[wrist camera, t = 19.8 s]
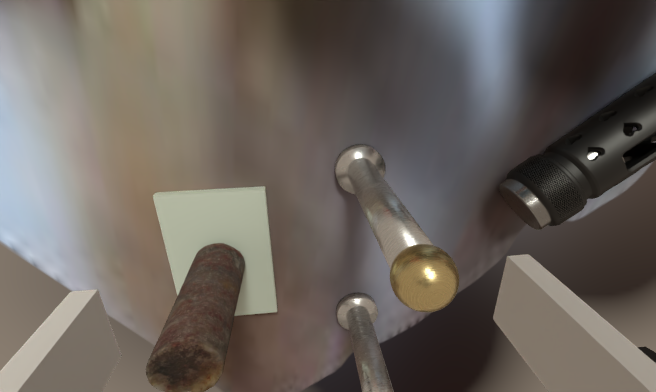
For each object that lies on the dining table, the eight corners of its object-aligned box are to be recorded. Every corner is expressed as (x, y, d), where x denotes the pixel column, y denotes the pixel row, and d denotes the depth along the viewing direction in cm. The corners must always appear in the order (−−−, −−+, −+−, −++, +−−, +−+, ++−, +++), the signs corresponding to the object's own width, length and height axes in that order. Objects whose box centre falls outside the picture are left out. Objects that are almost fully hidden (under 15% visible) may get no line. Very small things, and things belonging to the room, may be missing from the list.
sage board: (185, 315, 56) (183, 320, 55) (156, 192, 47) (152, 196, 46) (277, 306, 57) (277, 312, 56) (265, 186, 48) (264, 189, 47)
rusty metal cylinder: (205, 230, 49) (156, 339, 31) (253, 246, 51) (234, 358, 32) (189, 271, 51) (134, 395, 33) (236, 285, 53) (209, 409, 35)
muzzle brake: (673, 102, 50) (762, 114, 41) (508, 212, 55) (554, 246, 45) (658, 46, 47) (752, 46, 37) (483, 170, 51) (527, 197, 42)
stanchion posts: (336, 326, 60) (372, 529, 35) (334, 145, 47) (389, 261, 22) (374, 322, 61) (437, 519, 35) (383, 143, 48) (494, 252, 22)
